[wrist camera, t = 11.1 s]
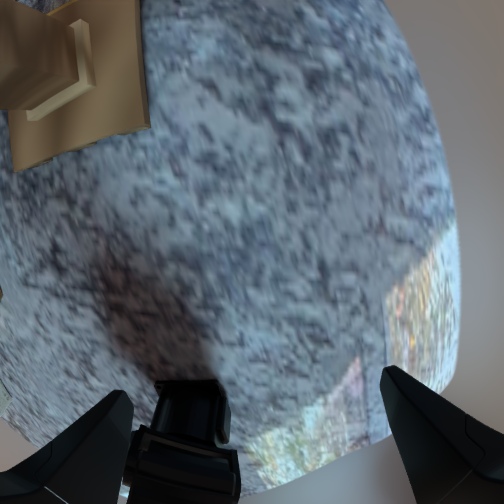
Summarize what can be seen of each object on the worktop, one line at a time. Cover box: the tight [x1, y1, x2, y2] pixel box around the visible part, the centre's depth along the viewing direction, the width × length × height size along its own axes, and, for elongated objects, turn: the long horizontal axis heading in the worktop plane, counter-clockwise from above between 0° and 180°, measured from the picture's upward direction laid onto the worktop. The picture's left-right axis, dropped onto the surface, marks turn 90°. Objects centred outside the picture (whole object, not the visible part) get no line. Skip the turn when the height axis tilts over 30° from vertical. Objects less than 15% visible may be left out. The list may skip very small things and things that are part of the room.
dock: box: [8, 0, 151, 173], centre depth 15 cm, size 12×12×2 cm
